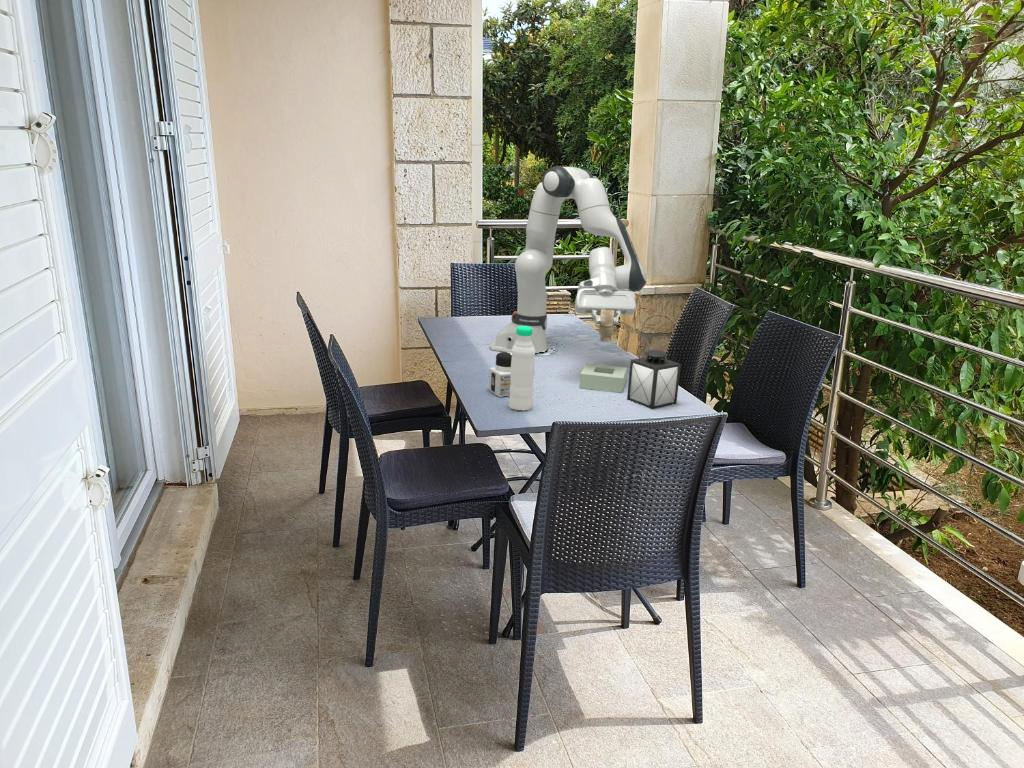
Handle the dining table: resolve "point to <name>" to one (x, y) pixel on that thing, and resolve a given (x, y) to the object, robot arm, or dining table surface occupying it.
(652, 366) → the lantern
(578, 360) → the dining table surface
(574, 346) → the dining table surface
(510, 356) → the container
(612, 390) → the hole block
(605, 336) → the peg
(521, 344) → the water bottle
